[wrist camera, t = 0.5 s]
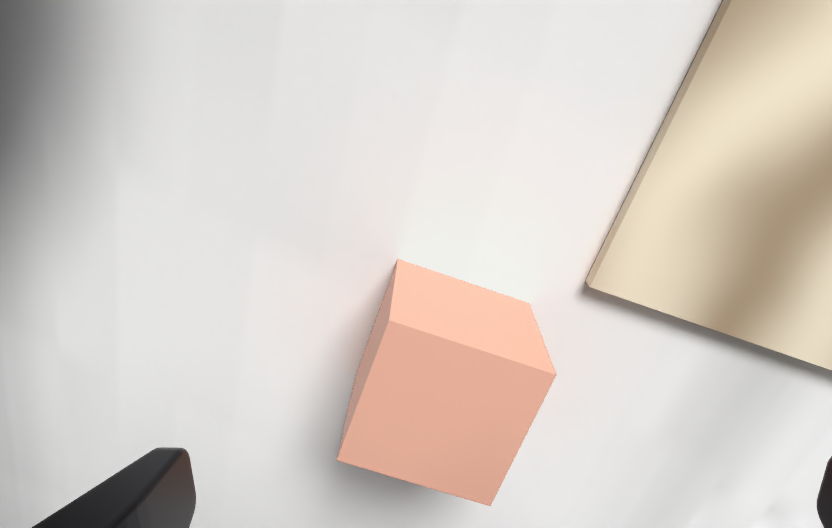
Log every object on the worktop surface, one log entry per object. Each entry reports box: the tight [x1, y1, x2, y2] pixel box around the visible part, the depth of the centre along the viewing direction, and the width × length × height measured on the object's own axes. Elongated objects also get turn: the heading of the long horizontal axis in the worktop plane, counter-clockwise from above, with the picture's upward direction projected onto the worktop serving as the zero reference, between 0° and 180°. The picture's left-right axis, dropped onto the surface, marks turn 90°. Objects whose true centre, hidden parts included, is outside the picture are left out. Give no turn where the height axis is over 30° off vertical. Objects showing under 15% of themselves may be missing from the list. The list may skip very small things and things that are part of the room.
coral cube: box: [337, 259, 556, 506], centre depth 20 cm, size 5×5×5 cm
